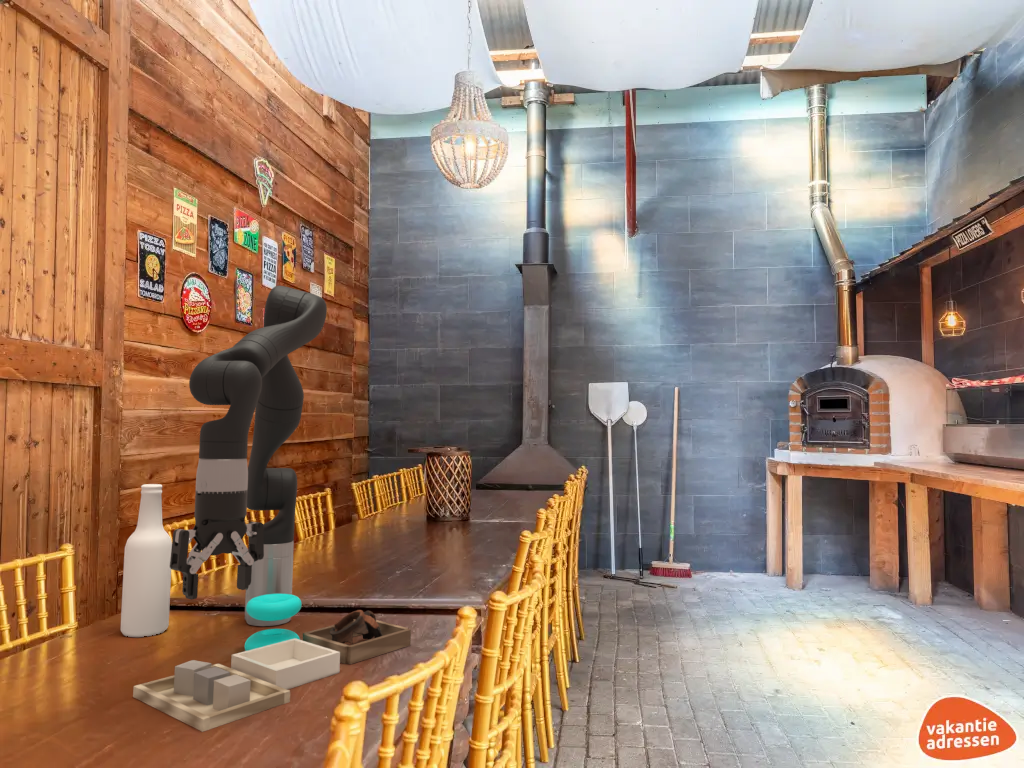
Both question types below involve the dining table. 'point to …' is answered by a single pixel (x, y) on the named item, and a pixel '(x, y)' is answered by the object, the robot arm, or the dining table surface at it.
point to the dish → (288, 663)
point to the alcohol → (147, 570)
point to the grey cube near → (230, 692)
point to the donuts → (272, 618)
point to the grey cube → (207, 684)
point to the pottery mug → (356, 627)
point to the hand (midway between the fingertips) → (217, 593)
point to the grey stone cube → (187, 676)
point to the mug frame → (388, 642)
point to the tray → (205, 716)
